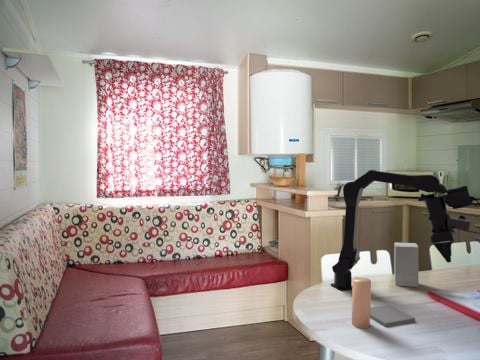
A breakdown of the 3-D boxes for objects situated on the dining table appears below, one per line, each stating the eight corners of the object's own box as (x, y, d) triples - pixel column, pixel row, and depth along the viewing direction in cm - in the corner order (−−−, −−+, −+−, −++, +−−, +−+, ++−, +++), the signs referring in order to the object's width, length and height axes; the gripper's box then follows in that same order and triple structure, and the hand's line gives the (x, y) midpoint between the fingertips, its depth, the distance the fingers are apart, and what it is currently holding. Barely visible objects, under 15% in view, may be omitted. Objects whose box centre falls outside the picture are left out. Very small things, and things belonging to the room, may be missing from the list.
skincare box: (416, 282, 144) (417, 242, 143) (418, 288, 137) (420, 246, 137) (392, 280, 147) (394, 241, 146) (394, 286, 140) (395, 244, 139)
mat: (360, 311, 116) (360, 308, 115) (388, 307, 119) (388, 304, 119) (384, 326, 105) (384, 323, 105) (415, 321, 109) (415, 318, 109)
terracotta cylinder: (348, 321, 108) (349, 278, 108) (362, 319, 110) (363, 276, 109) (359, 329, 103) (360, 283, 103) (373, 326, 105) (374, 281, 105)
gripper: (465, 210, 110) (479, 263, 108) (465, 204, 126) (477, 250, 124) (425, 217, 115) (437, 266, 114) (429, 210, 131) (440, 254, 130)
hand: (449, 259), depth 120 cm, fingers open, 9 cm apart
